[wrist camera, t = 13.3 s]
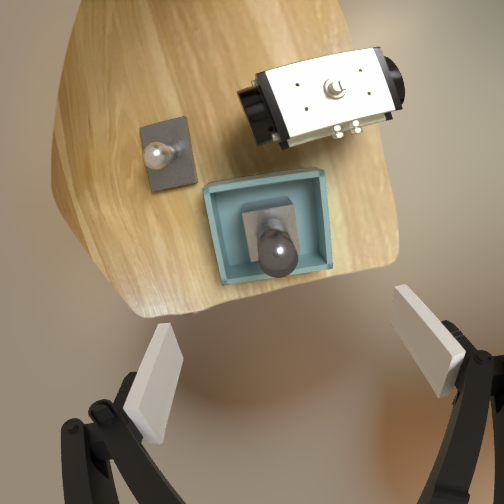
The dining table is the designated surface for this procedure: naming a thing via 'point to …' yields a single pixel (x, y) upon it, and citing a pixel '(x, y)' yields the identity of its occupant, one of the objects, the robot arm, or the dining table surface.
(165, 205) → the dining table surface
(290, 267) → the block with domed cylinder
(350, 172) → the dining table surface
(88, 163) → the dining table surface
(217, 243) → the bin
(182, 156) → the stud plate
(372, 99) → the ball valve
